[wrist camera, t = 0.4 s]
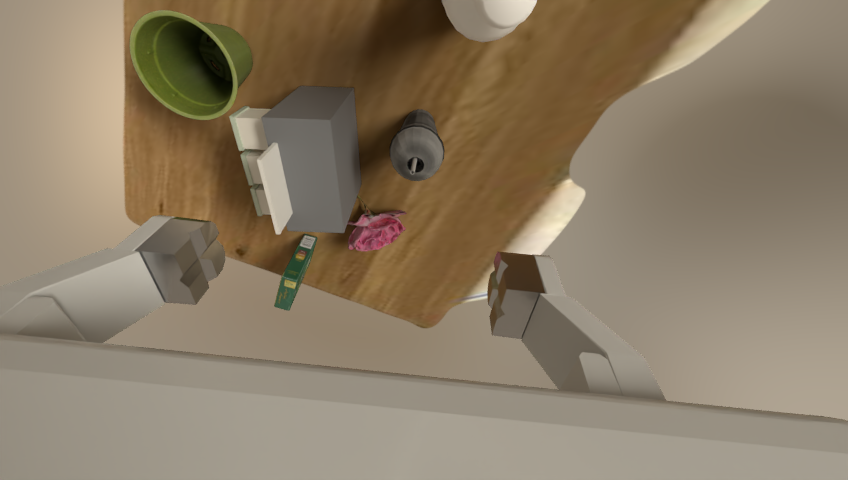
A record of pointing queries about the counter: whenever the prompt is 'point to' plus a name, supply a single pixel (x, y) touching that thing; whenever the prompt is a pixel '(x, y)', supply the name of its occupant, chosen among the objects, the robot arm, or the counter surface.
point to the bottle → (487, 17)
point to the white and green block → (252, 165)
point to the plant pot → (189, 63)
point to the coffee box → (295, 272)
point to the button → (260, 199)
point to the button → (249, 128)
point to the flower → (375, 230)
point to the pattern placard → (275, 187)
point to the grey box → (317, 155)
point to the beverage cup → (417, 147)
